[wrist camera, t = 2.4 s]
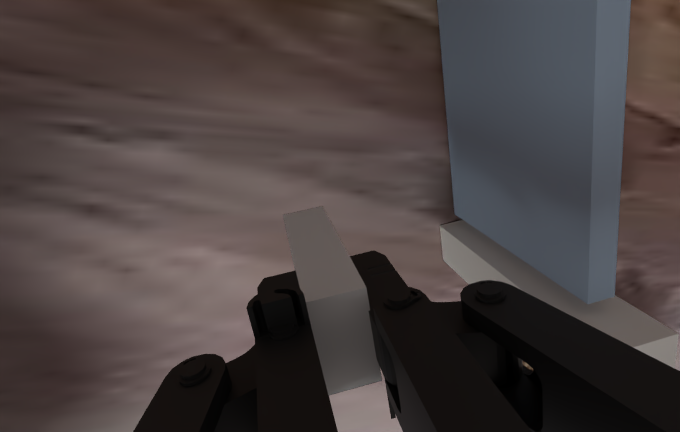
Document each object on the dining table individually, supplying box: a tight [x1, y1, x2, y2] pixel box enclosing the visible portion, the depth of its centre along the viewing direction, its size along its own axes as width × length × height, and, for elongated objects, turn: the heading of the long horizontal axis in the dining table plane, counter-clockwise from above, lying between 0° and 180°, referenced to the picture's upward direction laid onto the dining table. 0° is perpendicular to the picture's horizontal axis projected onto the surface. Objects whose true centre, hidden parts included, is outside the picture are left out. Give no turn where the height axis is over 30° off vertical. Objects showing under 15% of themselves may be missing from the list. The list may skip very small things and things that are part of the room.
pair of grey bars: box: [440, 220, 679, 369], centre depth 19 cm, size 3×22×14 cm, turn 10°
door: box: [437, 0, 631, 304], centre depth 20 cm, size 3×16×13 cm, turn 10°
